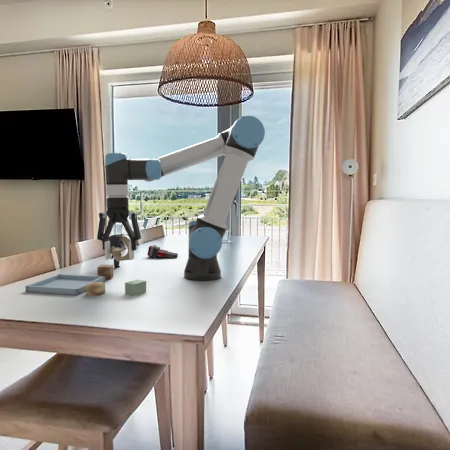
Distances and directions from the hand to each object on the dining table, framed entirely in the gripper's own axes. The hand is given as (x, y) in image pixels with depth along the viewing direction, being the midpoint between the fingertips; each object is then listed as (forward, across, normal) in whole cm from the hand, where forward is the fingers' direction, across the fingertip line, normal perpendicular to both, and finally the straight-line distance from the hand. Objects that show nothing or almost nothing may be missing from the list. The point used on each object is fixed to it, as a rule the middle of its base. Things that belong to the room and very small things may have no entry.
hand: (119, 259), depth 134 cm
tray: (+9, +18, +5) cm, 21 cm away
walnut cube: (+10, +11, -10) cm, 18 cm away
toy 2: (+11, +4, -60) cm, 61 cm away
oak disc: (+10, +4, +11) cm, 15 cm away
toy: (+10, +16, -30) cm, 35 cm away
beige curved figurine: (+1, 0, 0) cm, 1 cm away
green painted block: (+10, -9, +8) cm, 16 cm away
